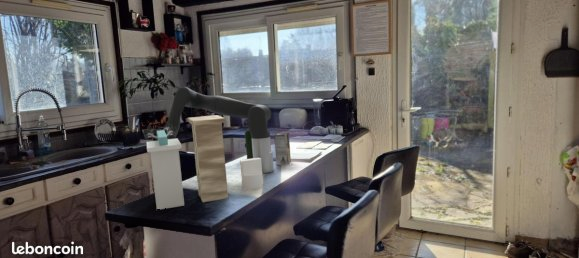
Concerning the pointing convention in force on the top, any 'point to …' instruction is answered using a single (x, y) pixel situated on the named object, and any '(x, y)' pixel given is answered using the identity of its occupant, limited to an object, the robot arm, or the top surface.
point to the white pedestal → (166, 173)
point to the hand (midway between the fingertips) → (160, 126)
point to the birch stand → (209, 157)
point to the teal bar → (162, 137)
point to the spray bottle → (248, 143)
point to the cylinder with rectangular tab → (251, 173)
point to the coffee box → (282, 148)
